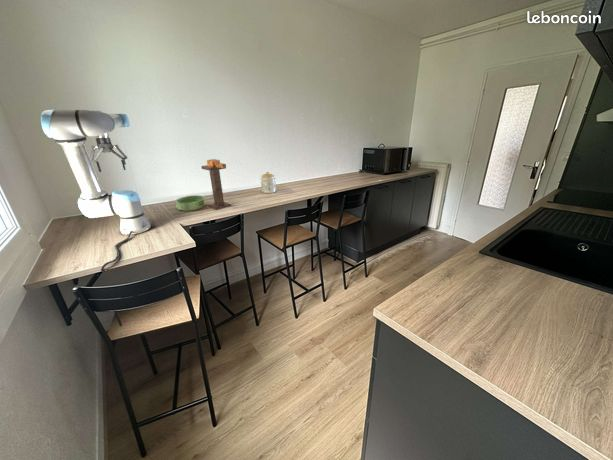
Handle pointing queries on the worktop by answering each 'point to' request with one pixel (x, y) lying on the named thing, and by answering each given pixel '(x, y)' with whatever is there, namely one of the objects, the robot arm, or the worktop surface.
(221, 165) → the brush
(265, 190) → the jar
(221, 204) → the stand
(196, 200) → the bowl
